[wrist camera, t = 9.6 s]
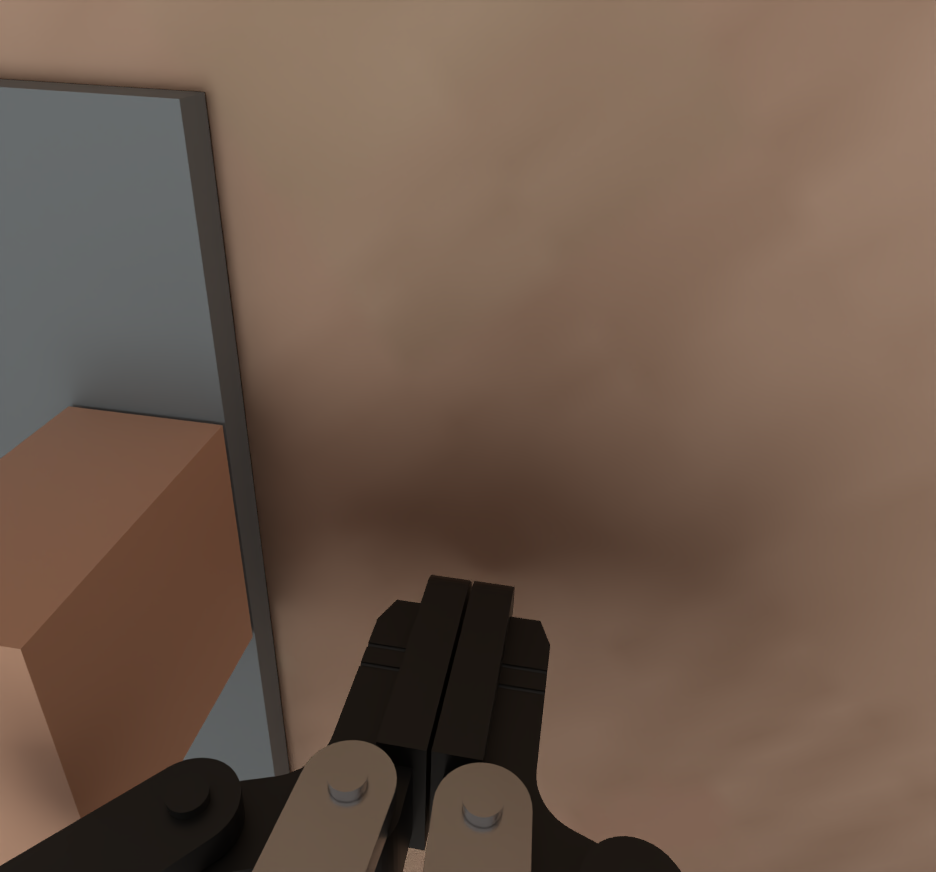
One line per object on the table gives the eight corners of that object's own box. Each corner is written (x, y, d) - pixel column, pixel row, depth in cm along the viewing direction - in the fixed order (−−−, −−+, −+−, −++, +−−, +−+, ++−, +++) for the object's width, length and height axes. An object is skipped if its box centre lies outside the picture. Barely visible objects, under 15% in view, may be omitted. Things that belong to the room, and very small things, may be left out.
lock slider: (222, 425, 14) (21, 649, 9) (252, 636, 17) (106, 893, 12) (68, 406, 14) (-201, 612, 10) (121, 615, 17) (-69, 857, 12)
